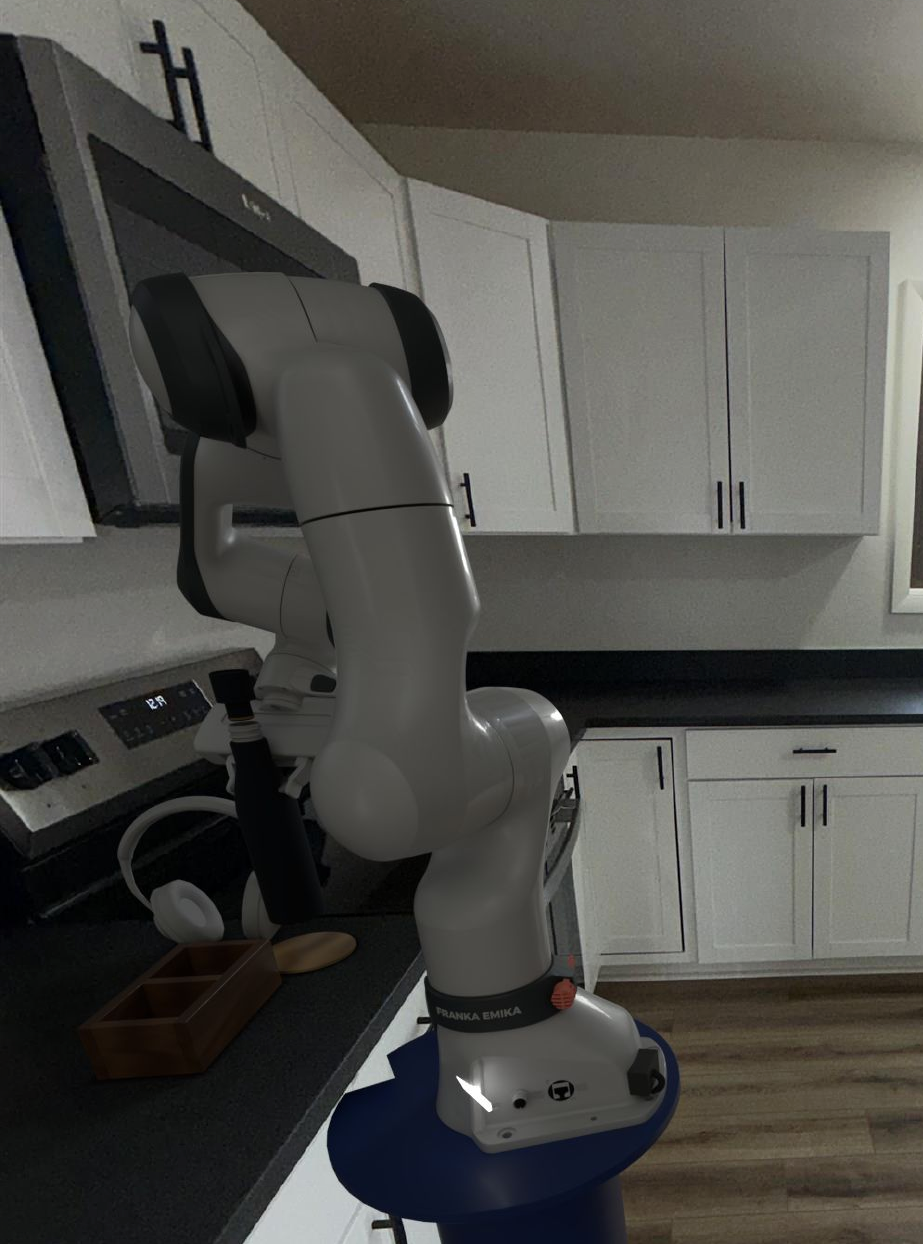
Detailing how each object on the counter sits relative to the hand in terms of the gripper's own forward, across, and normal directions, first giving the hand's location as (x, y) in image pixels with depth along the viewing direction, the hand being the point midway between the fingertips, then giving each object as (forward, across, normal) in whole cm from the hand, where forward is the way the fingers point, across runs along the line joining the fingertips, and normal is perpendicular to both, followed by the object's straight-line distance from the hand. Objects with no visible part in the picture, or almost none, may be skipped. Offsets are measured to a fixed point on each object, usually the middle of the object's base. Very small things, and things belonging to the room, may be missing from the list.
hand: (261, 795), depth 101 cm
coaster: (+15, 0, +16) cm, 21 cm away
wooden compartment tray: (+27, 0, +3) cm, 27 cm away
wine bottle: (+11, 0, +12) cm, 16 cm away
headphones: (+14, -12, +16) cm, 25 cm away
